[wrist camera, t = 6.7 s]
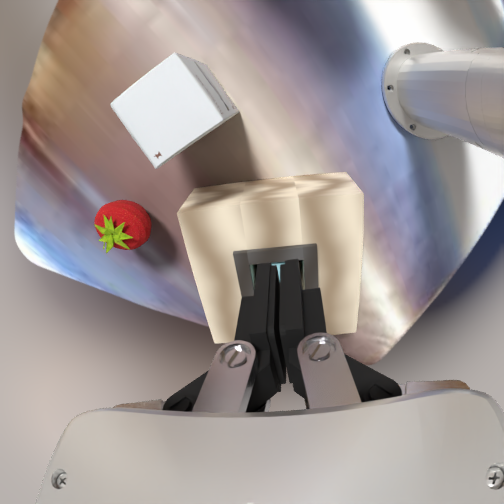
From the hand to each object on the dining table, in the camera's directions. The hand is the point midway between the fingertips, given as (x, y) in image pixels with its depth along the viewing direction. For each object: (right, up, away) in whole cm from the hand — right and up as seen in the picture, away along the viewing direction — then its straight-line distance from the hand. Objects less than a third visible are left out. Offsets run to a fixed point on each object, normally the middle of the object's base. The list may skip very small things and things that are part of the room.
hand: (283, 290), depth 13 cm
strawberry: (-17, +8, +27) cm, 33 cm away
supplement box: (-8, +19, +20) cm, 29 cm away
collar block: (+2, +2, +29) cm, 29 cm away
